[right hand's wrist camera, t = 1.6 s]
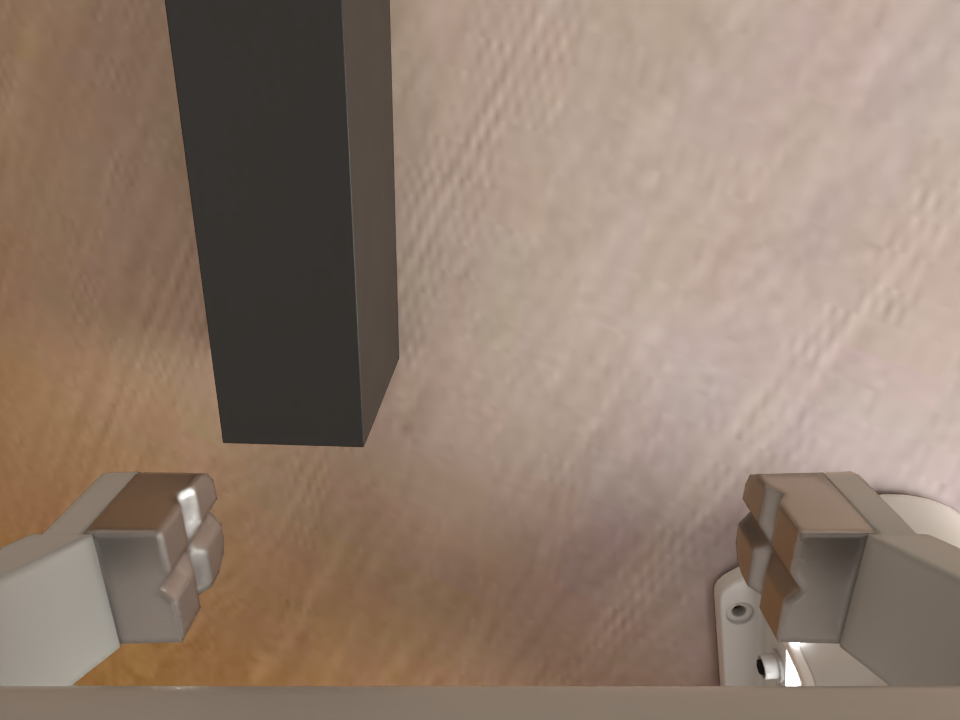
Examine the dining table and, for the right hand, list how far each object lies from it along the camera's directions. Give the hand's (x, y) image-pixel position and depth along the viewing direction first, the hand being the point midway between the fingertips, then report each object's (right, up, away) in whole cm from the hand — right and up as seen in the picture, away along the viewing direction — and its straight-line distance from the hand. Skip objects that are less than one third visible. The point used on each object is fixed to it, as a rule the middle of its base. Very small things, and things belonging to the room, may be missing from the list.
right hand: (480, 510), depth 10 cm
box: (-7, +13, +23) cm, 28 cm away
